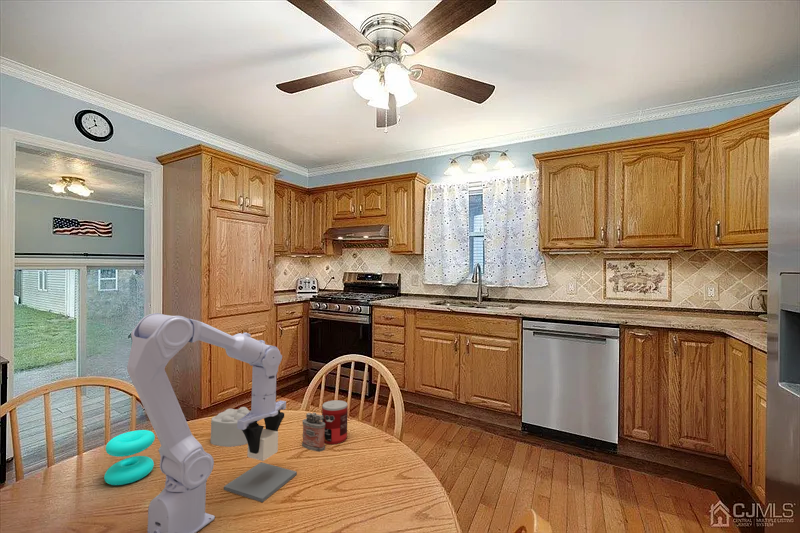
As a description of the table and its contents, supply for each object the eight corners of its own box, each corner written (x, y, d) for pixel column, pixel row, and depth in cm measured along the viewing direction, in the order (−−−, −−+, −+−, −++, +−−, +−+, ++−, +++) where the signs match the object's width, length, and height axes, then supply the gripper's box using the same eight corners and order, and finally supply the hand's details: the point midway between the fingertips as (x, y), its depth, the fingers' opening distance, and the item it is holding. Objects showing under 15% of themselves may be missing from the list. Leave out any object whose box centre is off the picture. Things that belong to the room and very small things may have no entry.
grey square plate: (262, 502, 78) (262, 498, 78) (223, 489, 82) (223, 486, 82) (296, 474, 89) (296, 471, 89) (260, 465, 93) (261, 462, 93)
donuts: (97, 448, 82) (117, 430, 91) (95, 491, 81) (115, 468, 91) (146, 442, 85) (160, 426, 94) (144, 483, 84) (159, 463, 94)
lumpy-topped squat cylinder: (229, 429, 115) (229, 403, 115) (263, 433, 112) (264, 407, 113) (205, 444, 105) (206, 415, 105) (242, 449, 102) (243, 419, 103)
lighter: (299, 446, 104) (300, 413, 104) (307, 441, 107) (307, 409, 107) (319, 452, 100) (320, 418, 101) (327, 447, 103) (328, 414, 104)
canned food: (319, 436, 111) (320, 402, 111) (343, 431, 114) (343, 398, 115) (324, 446, 104) (325, 410, 104) (349, 441, 107) (350, 406, 108)
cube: (263, 461, 82) (263, 440, 83) (247, 456, 84) (248, 436, 85) (277, 451, 87) (278, 431, 87) (262, 447, 89) (263, 428, 89)
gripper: (254, 404, 78) (252, 464, 78) (295, 386, 92) (294, 437, 91) (231, 400, 81) (229, 458, 80) (274, 383, 94) (273, 433, 94)
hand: (262, 447), depth 86 cm, fingers closed on cube, 5 cm apart
